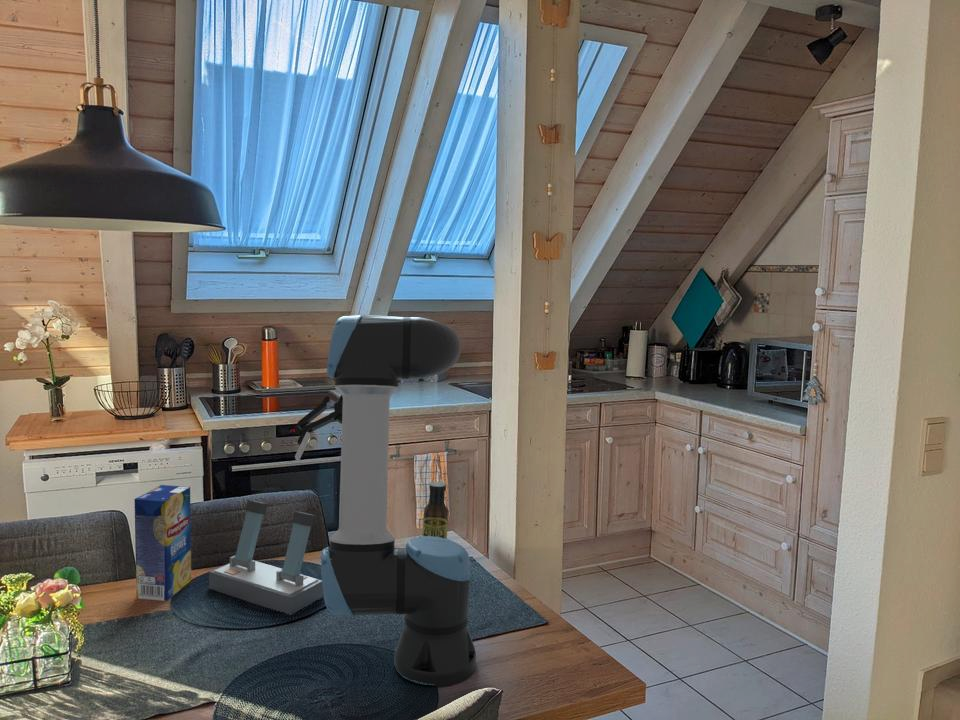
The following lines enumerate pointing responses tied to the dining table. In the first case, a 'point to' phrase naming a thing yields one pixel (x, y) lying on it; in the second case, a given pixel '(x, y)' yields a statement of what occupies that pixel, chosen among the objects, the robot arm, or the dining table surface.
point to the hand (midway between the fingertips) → (323, 469)
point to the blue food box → (162, 542)
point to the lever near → (297, 545)
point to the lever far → (250, 532)
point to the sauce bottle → (436, 512)
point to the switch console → (265, 586)
